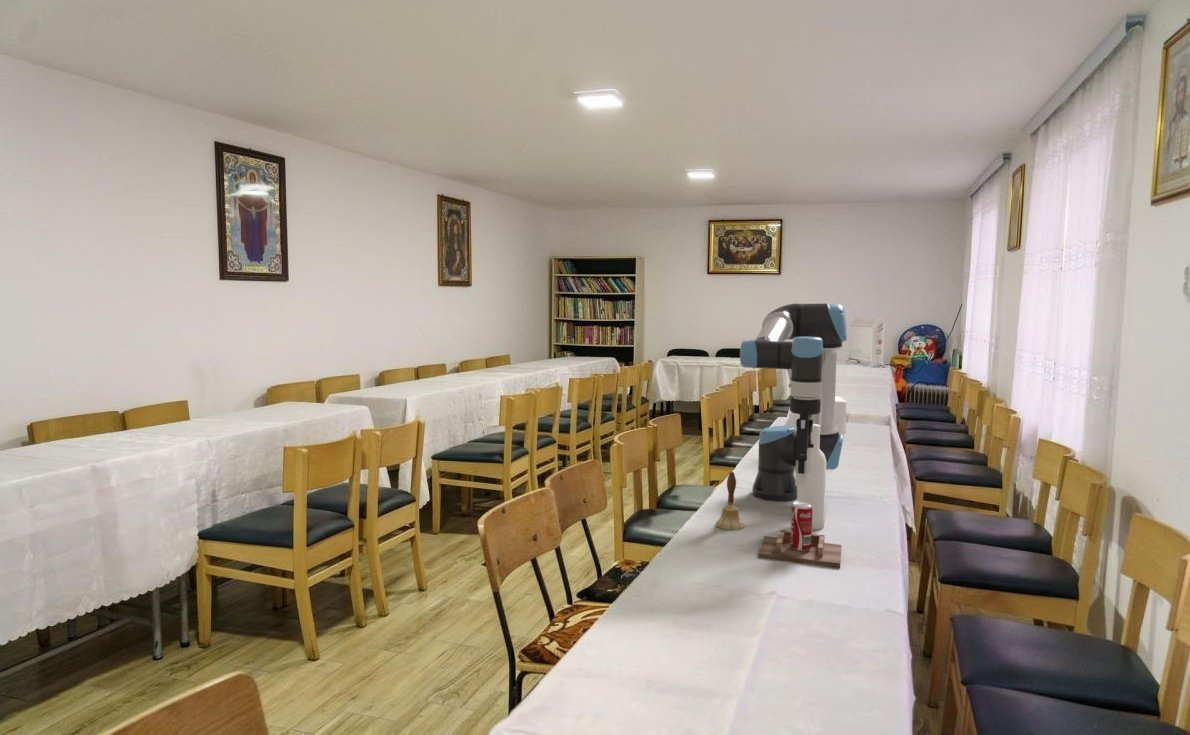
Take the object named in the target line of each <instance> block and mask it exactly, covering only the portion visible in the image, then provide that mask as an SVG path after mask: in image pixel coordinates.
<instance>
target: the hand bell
mask: <svg viewBox="0 0 1190 735" xmlns="http://www.w3.org/2000/svg"><path fill="white" fill-rule="evenodd" d="M736 487H737V479H736V475H735V472H734V471H729V475H728V477H727V480H726V488H727V492H728V495H727V504H726V505H724V506H723V507H722V510H721V515H720V517H719V518H718V520H717V521H716V522H715V526H716V527H717V528H720V529H722V530H729V531H739V530H742V529H744V528H745V524H744V522H743V521H742V519H741V518H740V514H739V513H740V512H739V508H738V507H737V506H735V504H734V502H735V498H734V497H735V490H736ZM743 527H744V528H743ZM736 529H737V530H736ZM738 529H739V530H738Z"/></svg>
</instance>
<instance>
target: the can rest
mask: <svg viewBox="0 0 1190 735" xmlns="http://www.w3.org/2000/svg"><path fill="white" fill-rule="evenodd" d="M790 536H791V530H782V529H780V530H779V534H778V536H769V535H764V536H763V539H762V541H761V544H760V546H759V549H758V551H757V558H758V559H759V558H760V559H766V560H774V561H783V562H788V561H789V562H791V563H796V564H797V563H798V564H804V563H805V564H804V565H811V564H813V565H812V566H819V565H820V566H821V567H827V568H834V567H835V569H841V562H842V559H841V558H842V544H837V543H829V542H825V534H817V533H816V534H815V533H812V534H811V549H810V551H808V552H798V551H794V550H792V549H791V547H790ZM820 566H819V567H820Z"/></svg>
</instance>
